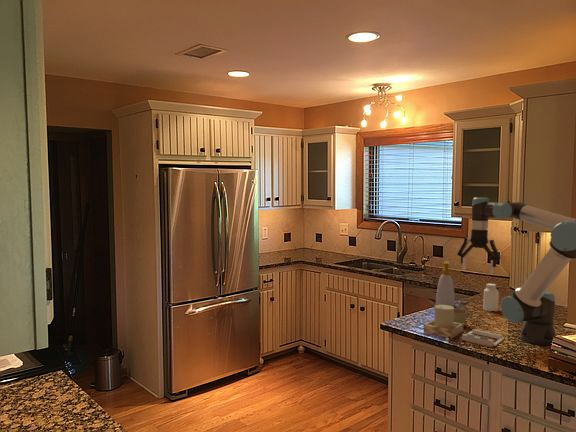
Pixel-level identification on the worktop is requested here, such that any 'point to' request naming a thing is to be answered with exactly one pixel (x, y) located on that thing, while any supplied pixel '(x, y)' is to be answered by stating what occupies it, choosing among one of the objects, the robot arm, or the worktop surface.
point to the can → (444, 316)
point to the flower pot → (460, 315)
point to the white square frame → (482, 338)
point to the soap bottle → (445, 288)
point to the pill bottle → (490, 298)
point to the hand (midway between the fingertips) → (477, 271)
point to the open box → (443, 329)
